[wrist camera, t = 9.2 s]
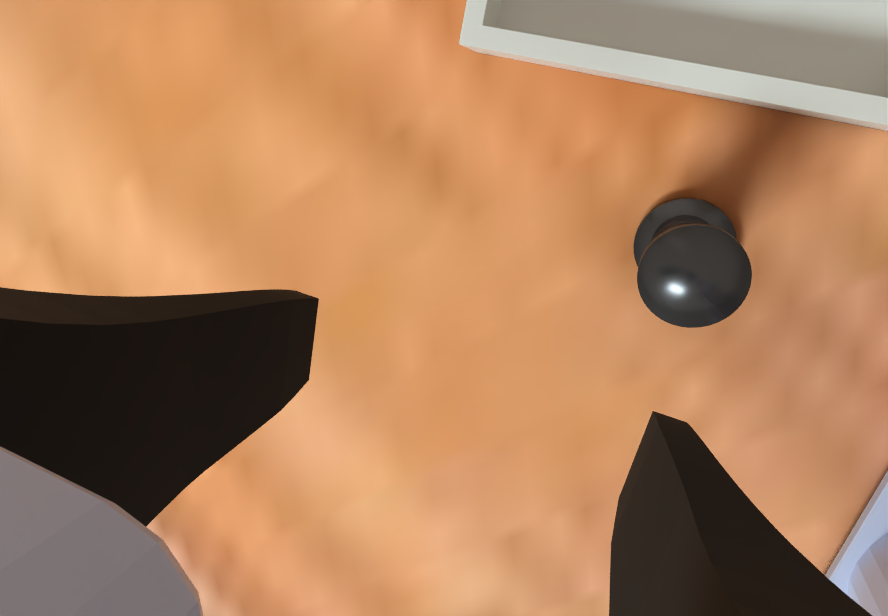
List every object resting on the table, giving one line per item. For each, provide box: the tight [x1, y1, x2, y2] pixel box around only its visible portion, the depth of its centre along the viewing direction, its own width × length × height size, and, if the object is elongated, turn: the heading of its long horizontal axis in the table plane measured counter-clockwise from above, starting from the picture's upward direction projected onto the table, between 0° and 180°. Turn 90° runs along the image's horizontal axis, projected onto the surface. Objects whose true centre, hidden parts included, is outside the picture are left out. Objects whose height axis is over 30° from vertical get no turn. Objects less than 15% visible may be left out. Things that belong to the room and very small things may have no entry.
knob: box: [634, 198, 752, 327], centre depth 16 cm, size 3×3×4 cm
